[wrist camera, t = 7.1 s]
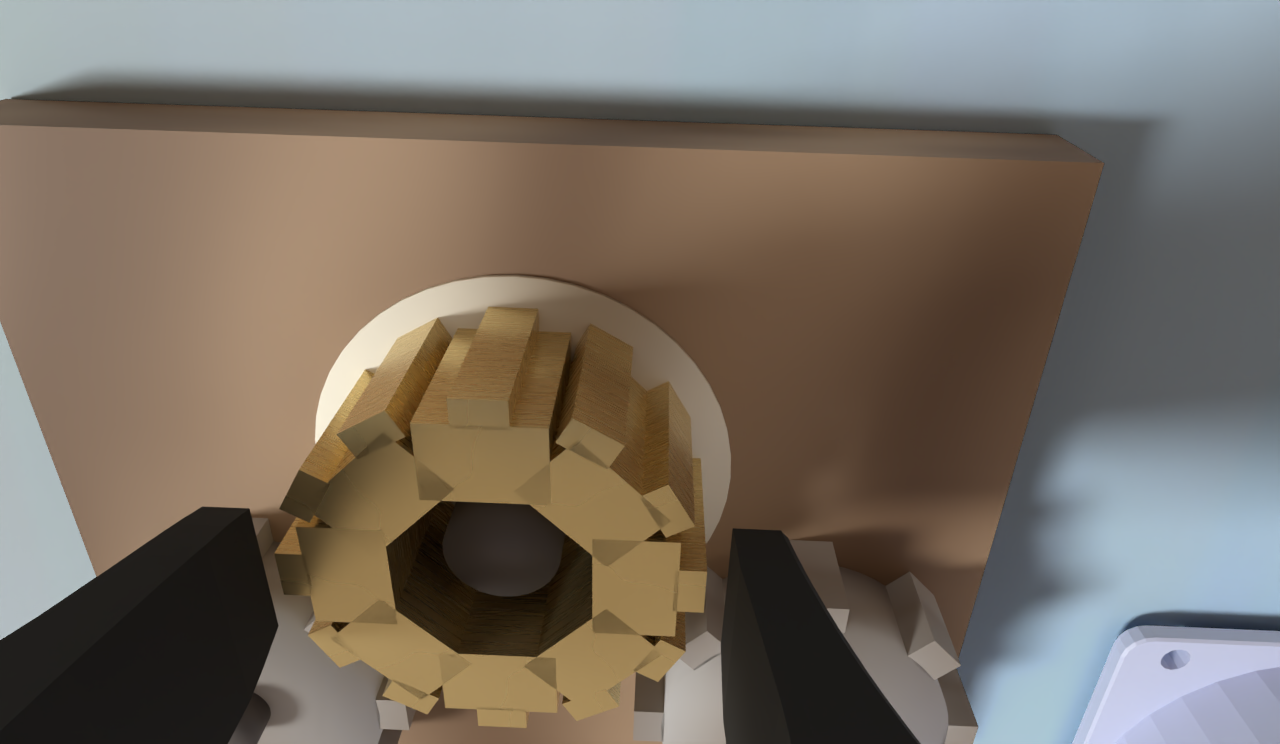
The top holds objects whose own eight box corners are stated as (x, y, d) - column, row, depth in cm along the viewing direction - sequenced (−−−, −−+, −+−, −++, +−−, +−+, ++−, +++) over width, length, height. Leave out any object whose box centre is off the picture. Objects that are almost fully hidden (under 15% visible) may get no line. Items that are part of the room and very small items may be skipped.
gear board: (1057, 134, 12) (1196, 216, 9) (896, 744, 18) (943, 919, 15) (6, 99, 12) (-229, 166, 9) (207, 713, 18) (111, 879, 15)
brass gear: (711, 314, 12) (720, 409, 9) (689, 608, 14) (692, 735, 12) (316, 300, 12) (235, 390, 10) (367, 594, 14) (313, 718, 12)
